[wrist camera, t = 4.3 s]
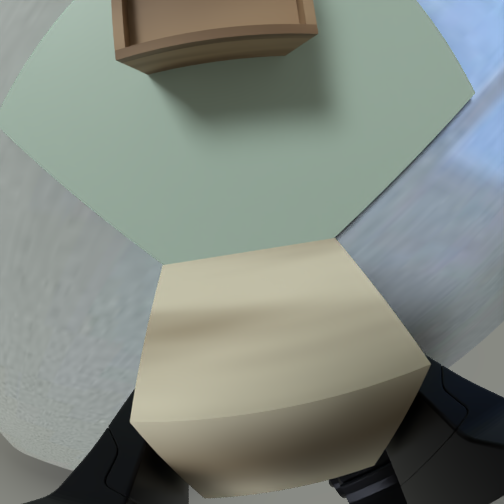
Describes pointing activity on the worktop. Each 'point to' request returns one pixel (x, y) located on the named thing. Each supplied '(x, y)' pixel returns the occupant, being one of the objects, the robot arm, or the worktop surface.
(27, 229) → the worktop surface
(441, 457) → the robot arm
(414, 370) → the ash block
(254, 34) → the walnut socket block
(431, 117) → the board
